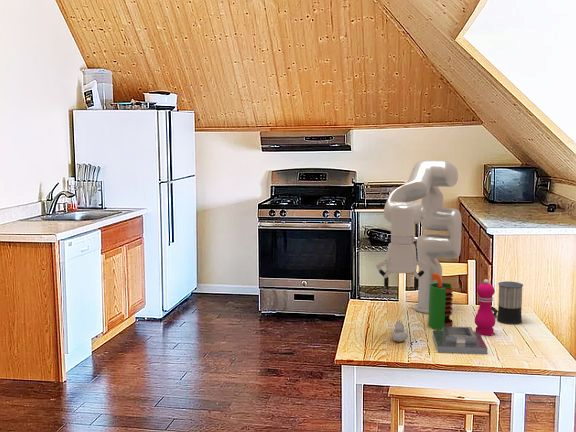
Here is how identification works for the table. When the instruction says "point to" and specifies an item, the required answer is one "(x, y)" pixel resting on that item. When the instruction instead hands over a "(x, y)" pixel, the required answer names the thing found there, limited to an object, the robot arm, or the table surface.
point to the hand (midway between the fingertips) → (401, 288)
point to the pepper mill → (485, 309)
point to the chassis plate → (459, 340)
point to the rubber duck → (399, 332)
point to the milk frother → (509, 303)
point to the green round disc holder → (440, 304)
